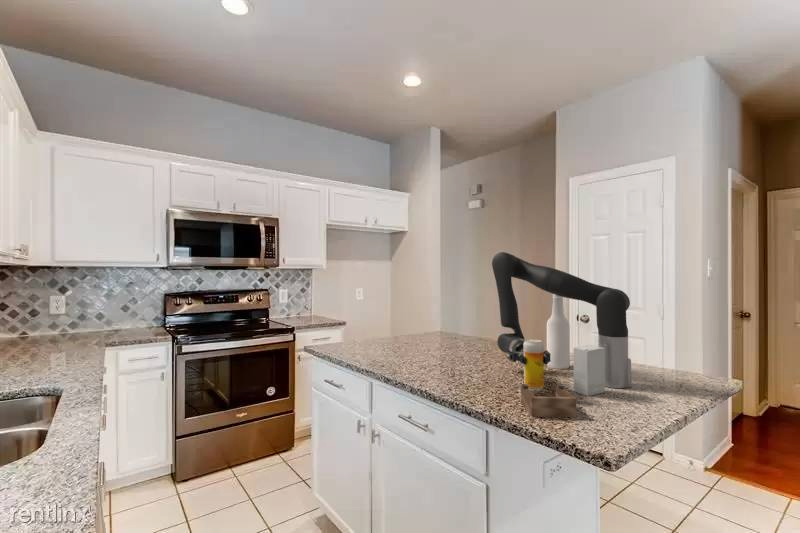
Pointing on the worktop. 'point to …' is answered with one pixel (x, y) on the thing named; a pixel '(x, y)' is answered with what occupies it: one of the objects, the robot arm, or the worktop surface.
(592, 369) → the skincare box
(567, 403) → the holder
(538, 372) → the beer can
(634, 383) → the worktop surface
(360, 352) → the worktop surface
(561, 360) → the alcohol
